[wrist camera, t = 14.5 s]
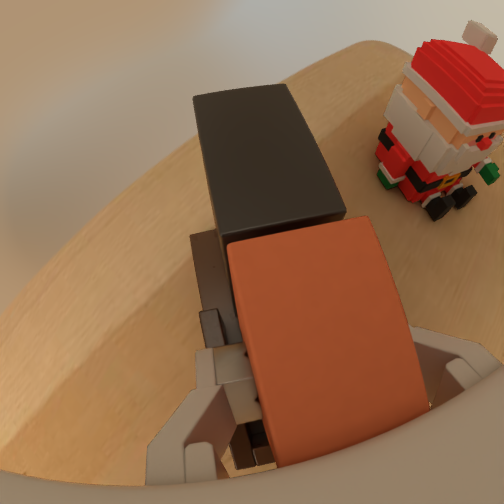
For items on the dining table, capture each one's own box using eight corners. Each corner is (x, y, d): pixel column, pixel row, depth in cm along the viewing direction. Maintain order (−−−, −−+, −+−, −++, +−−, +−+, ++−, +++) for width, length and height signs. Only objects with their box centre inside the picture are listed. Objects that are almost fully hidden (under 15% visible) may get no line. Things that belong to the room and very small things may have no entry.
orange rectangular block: (264, 428, 12) (289, 504, 4) (238, 324, 14) (225, 242, 6) (327, 410, 12) (438, 444, 4) (301, 310, 14) (368, 213, 6)
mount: (236, 449, 13) (220, 545, 4) (192, 242, 18) (144, 106, 8) (350, 418, 14) (473, 450, 5) (293, 221, 18) (328, 80, 9)
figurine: (411, 232, 18) (521, 96, 7) (356, 150, 20) (410, 3, 9) (478, 199, 19) (564, 99, 8) (430, 133, 22) (487, 25, 11)
